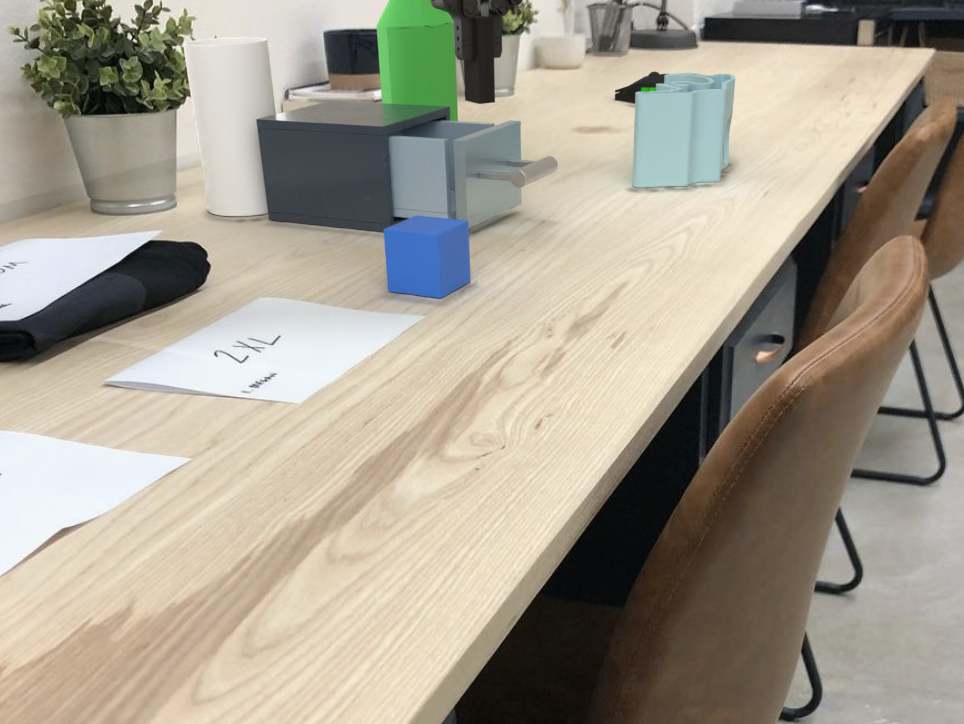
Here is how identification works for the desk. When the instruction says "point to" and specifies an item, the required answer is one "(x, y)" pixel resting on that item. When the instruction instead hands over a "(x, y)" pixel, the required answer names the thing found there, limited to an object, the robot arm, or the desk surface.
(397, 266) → the cube
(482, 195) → the drawer
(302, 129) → the dark gray drawer cabinet
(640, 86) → the black spring clamp
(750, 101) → the desk surface
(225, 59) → the cup
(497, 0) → the robot arm
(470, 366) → the desk surface
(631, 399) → the desk surface
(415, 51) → the bottle
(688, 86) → the squiggly pen holder
